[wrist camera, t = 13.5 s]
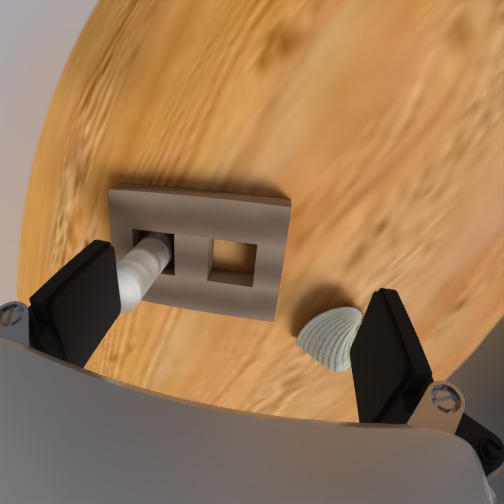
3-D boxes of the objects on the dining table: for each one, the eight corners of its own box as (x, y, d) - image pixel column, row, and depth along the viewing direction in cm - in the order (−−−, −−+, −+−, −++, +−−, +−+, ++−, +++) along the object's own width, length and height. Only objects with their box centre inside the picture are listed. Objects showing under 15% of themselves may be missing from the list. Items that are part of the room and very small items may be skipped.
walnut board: (120, 183, 34) (108, 189, 31) (290, 199, 33) (291, 207, 30) (128, 284, 40) (118, 295, 37) (274, 307, 39) (273, 321, 36)
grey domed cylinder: (147, 224, 36) (95, 271, 25) (178, 228, 35) (135, 278, 25) (148, 255, 37) (102, 308, 27) (179, 259, 37) (139, 317, 26)
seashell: (386, 334, 36) (350, 384, 35) (341, 308, 43) (308, 353, 42) (368, 309, 31) (325, 369, 30) (316, 281, 38) (278, 333, 37)
